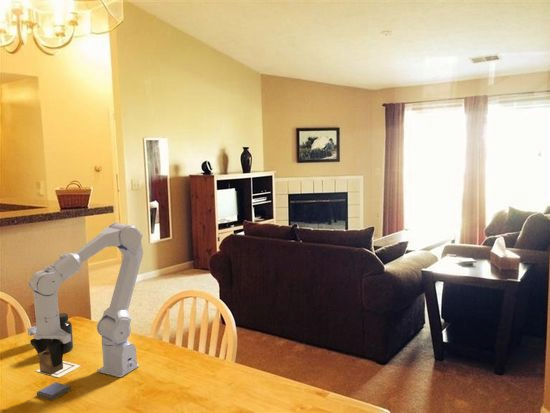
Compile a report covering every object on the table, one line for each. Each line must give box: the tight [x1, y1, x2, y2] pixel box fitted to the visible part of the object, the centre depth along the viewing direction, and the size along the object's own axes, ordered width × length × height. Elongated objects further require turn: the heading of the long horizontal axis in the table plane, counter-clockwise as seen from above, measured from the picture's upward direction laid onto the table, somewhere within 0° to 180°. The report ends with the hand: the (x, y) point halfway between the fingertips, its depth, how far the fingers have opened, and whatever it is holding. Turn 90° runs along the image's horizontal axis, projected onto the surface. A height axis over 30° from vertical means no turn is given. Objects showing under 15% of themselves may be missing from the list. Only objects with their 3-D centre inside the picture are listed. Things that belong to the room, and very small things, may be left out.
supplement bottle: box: [51, 312, 74, 354], centre depth 154 cm, size 7×7×12 cm
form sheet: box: [35, 360, 82, 379], centre depth 141 cm, size 10×8×1 cm
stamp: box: [38, 348, 64, 376], centre depth 126 cm, size 4×4×6 cm
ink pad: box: [36, 381, 72, 401], centre depth 127 cm, size 6×6×1 cm
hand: (51, 363), depth 126 cm, fingers closed on stamp, 4 cm apart
